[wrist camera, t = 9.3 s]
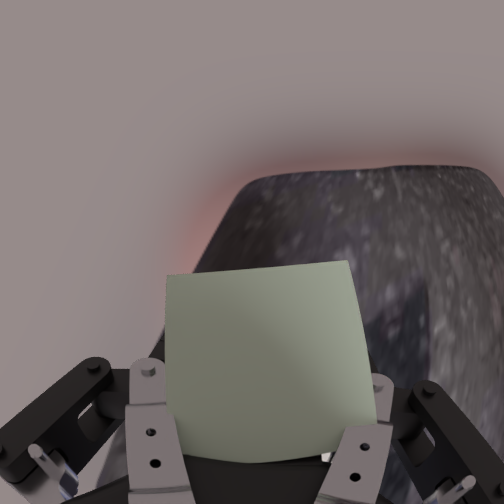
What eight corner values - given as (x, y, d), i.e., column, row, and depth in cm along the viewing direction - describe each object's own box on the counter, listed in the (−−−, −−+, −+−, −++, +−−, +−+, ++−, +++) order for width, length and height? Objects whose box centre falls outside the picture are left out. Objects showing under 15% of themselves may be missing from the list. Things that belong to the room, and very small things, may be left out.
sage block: (299, 336, 16) (347, 259, 7) (308, 415, 14) (378, 439, 5) (217, 343, 16) (166, 275, 7) (222, 423, 13) (171, 461, 5)
